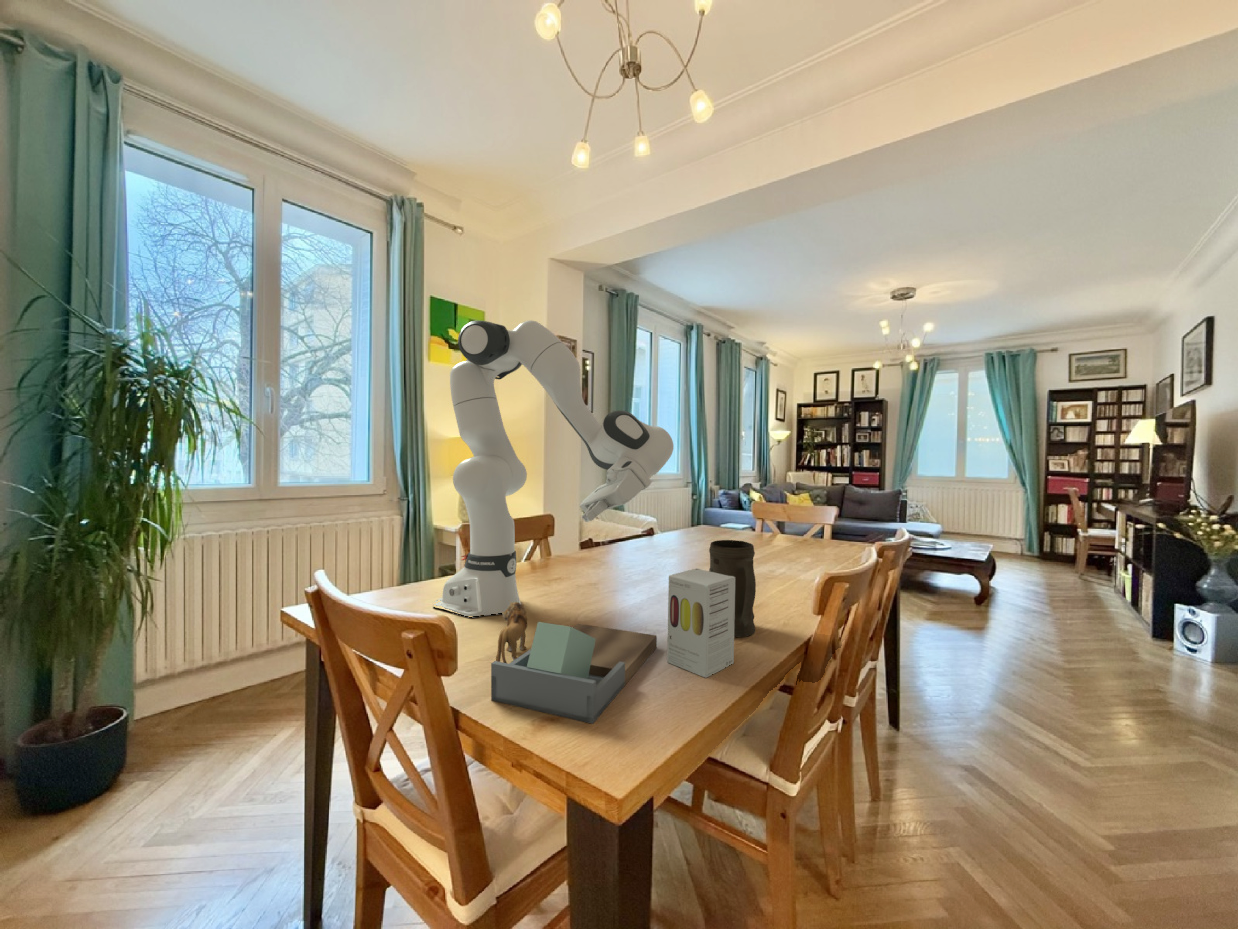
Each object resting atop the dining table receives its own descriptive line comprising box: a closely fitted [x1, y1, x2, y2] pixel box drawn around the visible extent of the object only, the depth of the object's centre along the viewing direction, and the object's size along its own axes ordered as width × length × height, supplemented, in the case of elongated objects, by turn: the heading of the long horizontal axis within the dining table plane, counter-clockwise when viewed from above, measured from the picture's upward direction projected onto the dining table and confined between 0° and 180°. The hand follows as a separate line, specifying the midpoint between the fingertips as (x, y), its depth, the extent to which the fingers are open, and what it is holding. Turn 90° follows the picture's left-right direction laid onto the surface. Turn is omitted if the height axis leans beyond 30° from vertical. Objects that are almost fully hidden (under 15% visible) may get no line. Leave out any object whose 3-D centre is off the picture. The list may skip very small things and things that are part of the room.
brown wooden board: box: [572, 623, 658, 686], centre depth 97 cm, size 18×18×2 cm
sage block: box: [527, 621, 596, 679], centre depth 83 cm, size 6×7×11 cm
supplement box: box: [666, 568, 735, 678], centre depth 94 cm, size 10×9×17 cm
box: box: [490, 648, 626, 724], centre depth 82 cm, size 18×13×6 cm
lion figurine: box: [495, 602, 528, 663], centre depth 97 cm, size 15×5×9 cm, turn 6°
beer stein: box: [708, 539, 757, 638], centre depth 110 cm, size 15×11×20 cm
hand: (586, 519), depth 109 cm, fingers closed
